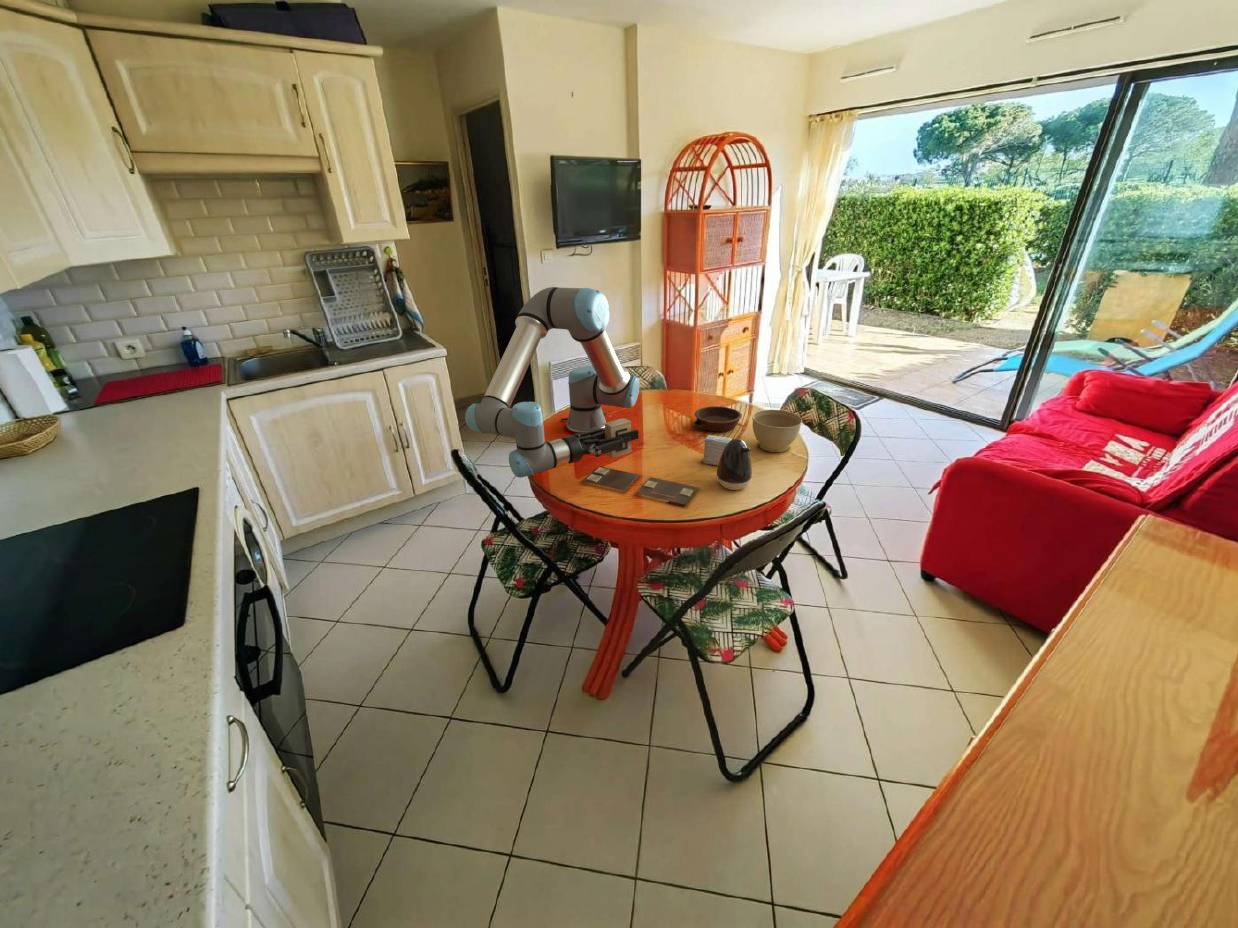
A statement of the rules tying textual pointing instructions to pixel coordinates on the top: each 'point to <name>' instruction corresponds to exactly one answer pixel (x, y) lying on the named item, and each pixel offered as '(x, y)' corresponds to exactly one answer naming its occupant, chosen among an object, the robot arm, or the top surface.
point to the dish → (716, 418)
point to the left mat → (611, 478)
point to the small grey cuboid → (614, 430)
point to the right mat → (668, 491)
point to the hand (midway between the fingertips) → (633, 431)
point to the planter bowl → (775, 429)
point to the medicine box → (714, 448)
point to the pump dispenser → (735, 465)
